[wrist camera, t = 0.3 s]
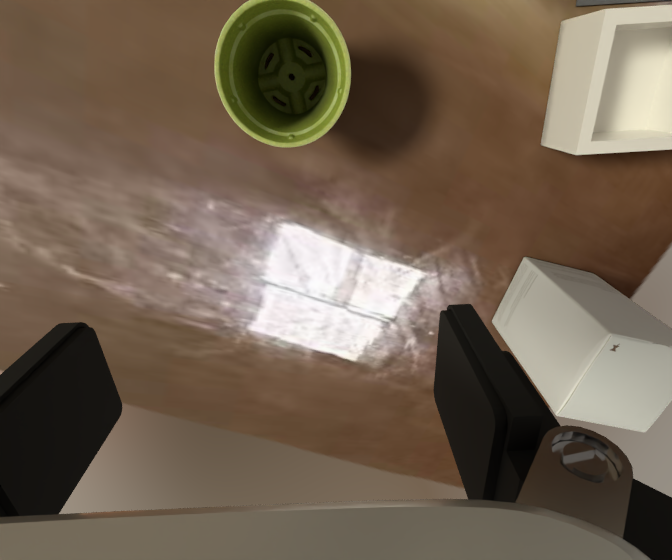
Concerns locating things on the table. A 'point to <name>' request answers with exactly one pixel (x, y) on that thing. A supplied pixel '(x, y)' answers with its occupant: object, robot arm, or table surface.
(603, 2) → the mat
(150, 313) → the table surface
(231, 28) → the plant pot
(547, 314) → the supplement box
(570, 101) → the white open-top box
